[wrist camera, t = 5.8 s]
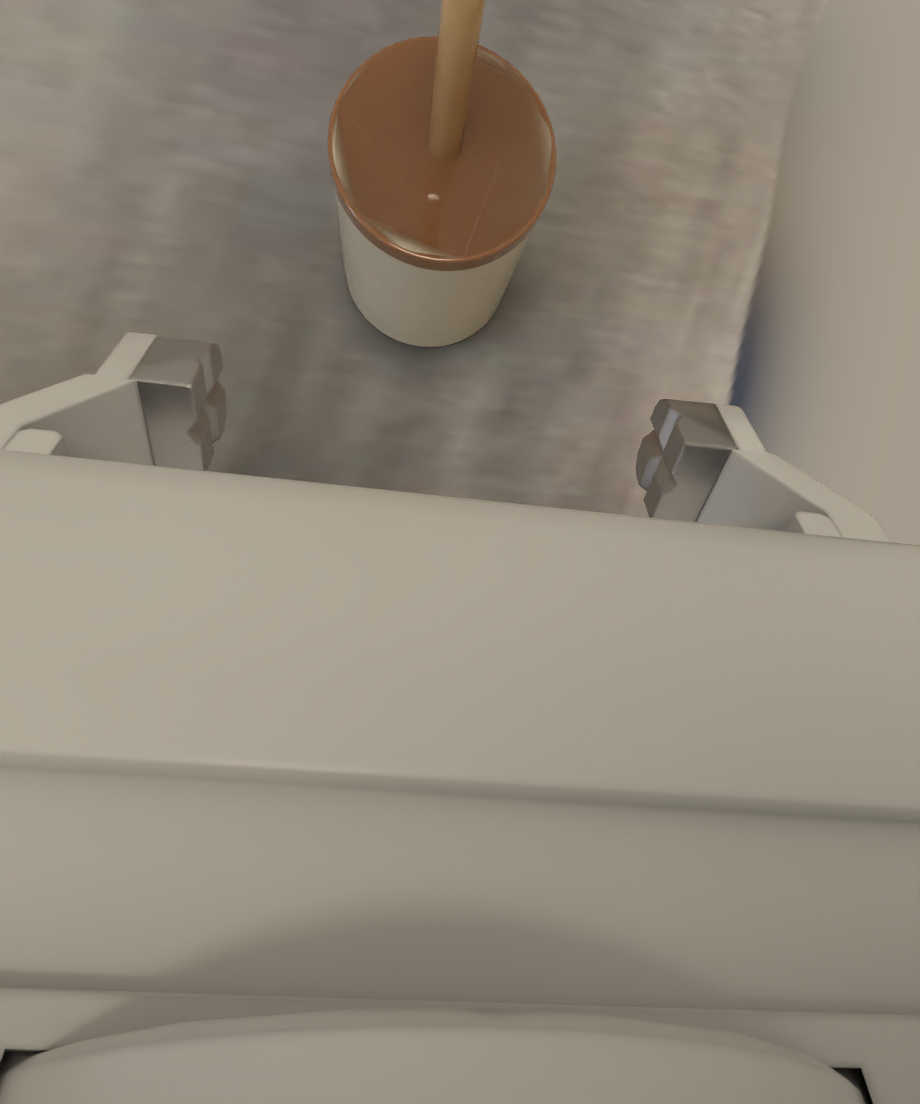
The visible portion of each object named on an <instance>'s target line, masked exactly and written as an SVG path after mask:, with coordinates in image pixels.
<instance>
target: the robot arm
mask: <svg viewBox="0 0 920 1104" xmlns="http://www.w3.org/2000/svg"><path fill="white" fill-rule="evenodd" d="M222 368H223V365H222V358H221V350H220V348H219V346H218V344H214V343H207V342H200V341H193V340H186V339H179V338H172V337H165V336H158V335H154V334H143V333H132V332H131V333H126V334H125V335H124V337H123V338H122V339H121V341H120V342H119V343H118V345H117V346H116V347H115V349H114V350H113V351H112V353H111V354H110V355H109V357H108V358H107V359H106V361H105V362H104V363H103V365H102V366H101V367H100V368H99V370H98V371H97V372H96V374H95V375H92V374H84V375H81V376H78V377H75V378H73V379H70V380H67V381H64V382H61V383H58V384H55V385H53V386H50V387H47V388H44V389H41V390H38V391H36V392H33V393H30V394H27V395H24V396H21V397H19V398H16V399H13V400H10V401H7V402H4V403H2V404H0V1104H920V546H919V545H910V544H900V543H893V542H892V540H891V539H890V537H889V536H888V534H887V533H886V531H885V530H884V528H883V527H882V525H881V524H880V523H879V521H878V520H877V518H875V517H874V516H872V515H871V514H869V513H867V512H866V511H864V510H863V509H861V508H859V507H858V506H856V505H855V504H853V503H851V502H850V501H848V500H847V499H845V498H844V497H842V496H840V495H839V494H837V493H835V492H834V491H833V490H831V489H829V488H828V487H826V486H824V485H823V484H821V483H820V482H818V481H817V480H815V479H813V478H812V477H810V476H809V475H807V474H806V473H804V472H802V471H801V470H799V469H798V468H796V467H794V466H793V465H791V464H790V463H788V462H786V461H785V460H783V459H782V458H780V457H779V456H777V455H775V454H772V453H766V451H765V449H764V447H763V445H762V444H761V442H760V440H759V439H758V437H757V435H756V433H755V432H754V430H753V428H752V426H751V424H750V423H749V421H748V420H747V417H746V416H745V414H744V412H743V410H742V409H741V408H739V407H737V406H730V405H717V404H711V403H701V402H690V401H680V400H670V399H662V400H660V401H659V402H658V404H657V405H656V407H655V409H654V411H653V414H652V416H651V421H652V424H653V427H654V430H653V431H652V432H651V433H649V434H648V435H647V436H645V437H644V438H643V440H642V443H641V445H640V448H639V451H638V456H637V463H636V475H637V480H638V483H639V485H640V486H641V487H642V488H644V489H645V490H646V491H647V492H646V495H645V497H644V502H645V505H646V508H647V511H648V514H649V517H641V516H631V515H621V514H612V513H602V512H593V511H583V510H573V509H564V508H554V507H545V506H535V505H525V504H516V503H506V502H497V501H487V500H478V499H468V498H459V497H449V496H440V495H430V494H421V493H411V492H402V491H392V490H383V489H373V488H364V487H354V486H345V485H335V484H326V483H316V482H307V481H297V480H288V479H278V478H269V477H259V476H250V475H240V474H231V473H221V472H212V471H206V470H207V468H208V466H209V463H210V461H211V459H212V456H213V454H214V451H213V442H215V441H217V440H219V439H220V438H221V435H222V432H223V430H224V424H225V418H226V394H225V389H224V388H223V387H222V385H221V384H220V383H219V382H218V381H217V379H218V377H219V375H220V373H221V370H222Z"/></svg>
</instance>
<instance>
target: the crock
mask: <svg viewBox="0 0 920 1104" xmlns="http://www.w3.org/2000/svg"><path fill="white" fill-rule="evenodd" d="M484 7H485V0H442V2H441V12H440V21H439V31H438V37H420V38H414V39H409V40H405V41H402V42H398V43H395V44H393V45H391V46H389V47H386V48H384V49H382V50H381V51H379V52H377V53H376V54H374V55H373V56H371V57H370V58H369V59H367V60H366V61H365V62H364V63H363V64H361V65H360V66H359V67H358V68H357V70H356V71H355V72H354V73H353V74H352V75H351V76H350V78H349V79H348V81H347V82H346V84H345V85H344V87H343V88H342V90H341V91H340V94H339V96H338V98H337V100H336V102H335V105H334V108H333V111H332V114H331V117H330V123H329V129H328V156H329V165H330V172H331V177H332V181H333V185H334V189H335V197H336V206H337V214H338V222H339V230H340V238H341V246H342V255H343V263H344V271H345V278H346V282H347V286H348V289H349V291H350V294H351V297H352V298H353V300H354V302H355V304H356V306H357V307H358V309H359V310H360V312H361V313H362V314H363V316H364V317H365V318H366V319H367V320H368V321H369V322H370V323H371V324H372V325H373V326H374V327H376V328H377V329H378V330H379V331H381V332H382V333H384V334H386V335H387V336H389V337H391V338H393V339H395V340H397V341H400V342H403V343H406V344H409V345H414V346H420V347H438V346H445V345H449V344H453V343H456V342H459V341H461V340H463V339H465V338H467V337H469V336H471V335H472V334H474V333H475V332H477V331H478V330H479V329H480V328H481V327H483V326H484V325H485V324H486V323H487V322H488V320H489V319H490V318H491V317H492V316H493V314H494V312H495V311H496V309H497V308H498V306H499V304H500V301H501V299H502V297H503V295H504V292H505V290H506V288H507V286H508V283H509V281H510V279H511V277H512V274H513V272H514V270H515V268H516V265H517V263H518V261H519V259H520V256H521V254H522V252H523V250H524V247H525V245H526V243H527V241H528V238H529V236H530V234H531V232H532V229H533V228H534V226H535V224H536V223H537V221H538V220H539V218H540V216H541V214H542V212H543V209H544V207H545V205H546V203H547V200H548V198H549V196H550V193H551V189H552V186H553V182H554V176H555V170H556V147H555V138H554V134H553V130H552V126H551V122H550V120H549V117H548V114H547V112H546V109H545V107H544V105H543V104H542V102H541V100H540V98H539V96H538V95H537V93H536V92H535V90H534V89H533V87H532V86H531V84H530V83H529V82H528V81H527V80H526V79H525V78H524V76H523V75H522V74H521V73H520V72H519V71H518V70H517V69H515V68H514V67H513V66H512V65H511V64H510V63H509V62H507V61H506V60H504V59H503V58H501V57H500V56H499V55H497V54H495V53H493V52H492V51H490V50H488V49H486V48H484V47H482V46H479V45H478V44H479V38H480V32H481V25H482V19H483V13H484Z"/></svg>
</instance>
